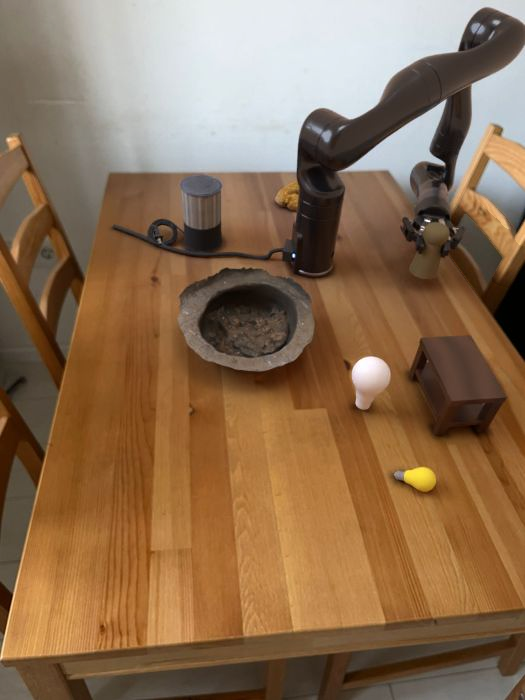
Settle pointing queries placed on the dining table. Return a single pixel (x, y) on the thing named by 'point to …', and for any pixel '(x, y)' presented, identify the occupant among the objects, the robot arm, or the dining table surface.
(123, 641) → the dining table surface
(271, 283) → the stone bowl
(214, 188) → the milk frother
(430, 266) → the cork
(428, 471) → the light bulb
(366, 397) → the lightbulb
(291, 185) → the golden lumpy piece
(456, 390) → the shelf
